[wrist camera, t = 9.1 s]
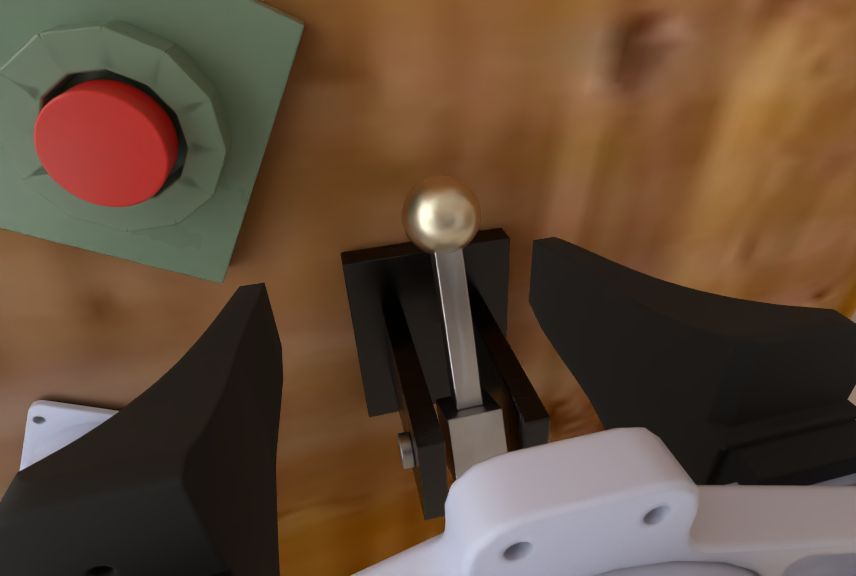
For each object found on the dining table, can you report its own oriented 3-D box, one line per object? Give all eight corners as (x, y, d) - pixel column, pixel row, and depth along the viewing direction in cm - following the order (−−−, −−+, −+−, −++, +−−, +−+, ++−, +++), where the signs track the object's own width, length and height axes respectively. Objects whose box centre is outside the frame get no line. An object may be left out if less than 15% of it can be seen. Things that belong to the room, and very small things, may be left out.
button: (166, 201, 18) (156, 222, 17) (49, 166, 17) (26, 185, 15) (189, 106, 17) (180, 120, 15) (62, 58, 15) (39, 68, 14)
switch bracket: (340, 252, 24) (364, 399, 16) (501, 227, 25) (599, 351, 17) (366, 402, 30) (394, 568, 22) (498, 375, 31) (571, 522, 23)
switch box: (226, 268, 23) (217, 307, 21) (-17, 204, 20) (-65, 242, 17) (304, 21, 19) (306, 31, 16) (7, -121, 15) (-52, -137, 12)
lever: (392, 184, 20) (401, 178, 18) (464, 174, 21) (485, 166, 18) (434, 458, 22) (449, 494, 19) (499, 443, 23) (523, 476, 20)
